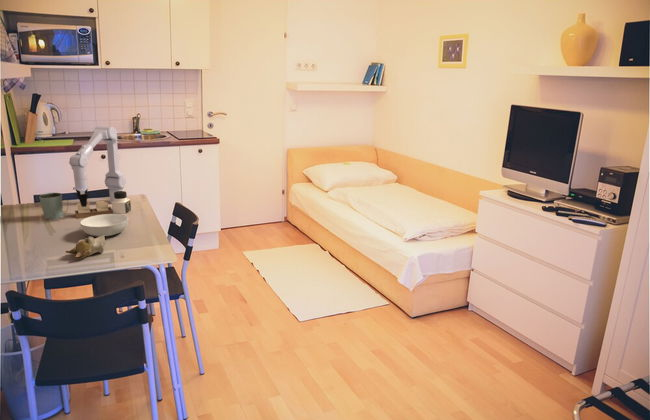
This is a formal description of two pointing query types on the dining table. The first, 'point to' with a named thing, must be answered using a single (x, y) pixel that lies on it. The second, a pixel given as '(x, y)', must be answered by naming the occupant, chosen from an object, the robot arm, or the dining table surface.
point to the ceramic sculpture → (88, 246)
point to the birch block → (83, 208)
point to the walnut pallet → (92, 213)
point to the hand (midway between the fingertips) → (83, 204)
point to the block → (102, 206)
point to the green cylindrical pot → (52, 205)
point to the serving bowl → (104, 224)
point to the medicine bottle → (121, 203)
